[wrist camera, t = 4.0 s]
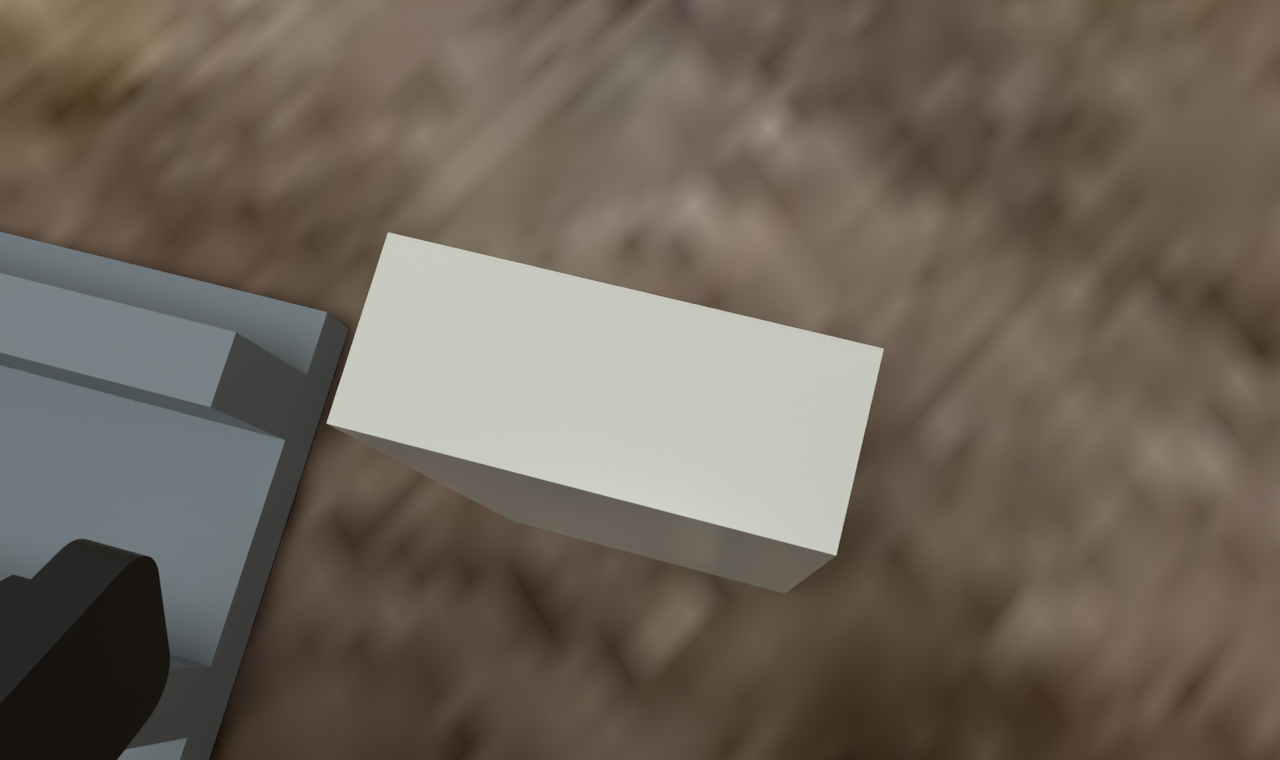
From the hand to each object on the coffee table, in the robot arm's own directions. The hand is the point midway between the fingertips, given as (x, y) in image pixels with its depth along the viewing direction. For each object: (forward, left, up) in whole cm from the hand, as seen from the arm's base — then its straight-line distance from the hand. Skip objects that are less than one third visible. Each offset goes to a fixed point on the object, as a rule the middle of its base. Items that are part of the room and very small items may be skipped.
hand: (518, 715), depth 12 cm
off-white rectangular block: (0, -3, -9) cm, 9 cm away
